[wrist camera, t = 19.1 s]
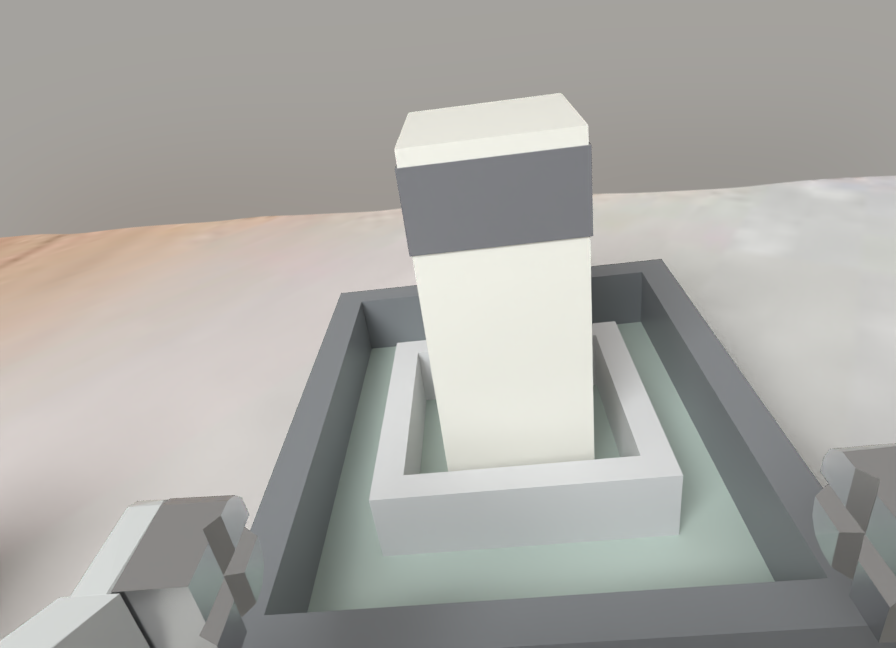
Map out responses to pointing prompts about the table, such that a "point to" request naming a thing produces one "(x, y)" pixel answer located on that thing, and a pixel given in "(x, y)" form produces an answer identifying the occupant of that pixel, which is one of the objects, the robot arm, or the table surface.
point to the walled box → (545, 502)
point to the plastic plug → (504, 276)
